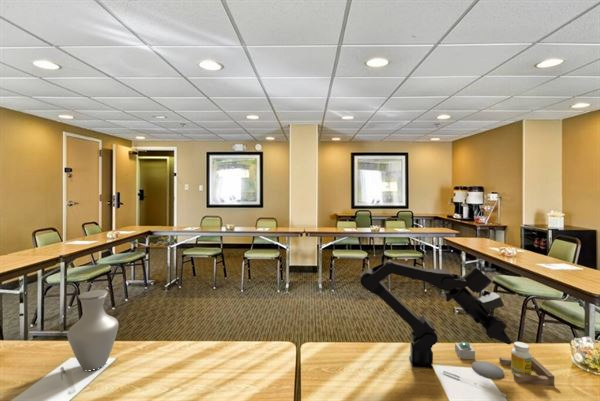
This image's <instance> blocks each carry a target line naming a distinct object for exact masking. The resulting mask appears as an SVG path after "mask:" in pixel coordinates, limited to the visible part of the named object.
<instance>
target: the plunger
mask: <svg viewBox="0 0 600 401" xmlns="http://www.w3.org/2000/svg"><path fill="white" fill-rule="evenodd" d="M459 343H460V346H461V349H469V347H470V345H471V344H470V343H469V342H466V341H460V342H459Z"/></svg>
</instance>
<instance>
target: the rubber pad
mask: <svg viewBox="0 0 600 401" xmlns="http://www.w3.org/2000/svg"><path fill="white" fill-rule="evenodd" d="M471 369H472V370H473V371H474V372H475V373H476V374H478V375H479V376H482V377H485V378H488V379H494V380H495V379H496V380H497V379H499V380H500V379H502V378H503V377H505V372H504V370H503V369H502V368H501V367H499V366H498V365H496V364H494V363H492V362H489V361H488V362H487V361H484V360H483V361H482V360H481V361H480V360H479V361H478V360H476V361H473V362H472V363H471Z"/></svg>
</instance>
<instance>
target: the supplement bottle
mask: <svg viewBox="0 0 600 401" xmlns="http://www.w3.org/2000/svg"><path fill="white" fill-rule="evenodd" d="M510 351H511V352H510V354H511V357H510V358H511V366H510V370H511V372H512V373H513V374H514V373H515V374H526V375H532V369H531V358H532V357H533V356H532V354H531V352H530V345H528V344H527V343H525V342H521V341H515V342H513V347H512V349H511V350H510Z"/></svg>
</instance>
